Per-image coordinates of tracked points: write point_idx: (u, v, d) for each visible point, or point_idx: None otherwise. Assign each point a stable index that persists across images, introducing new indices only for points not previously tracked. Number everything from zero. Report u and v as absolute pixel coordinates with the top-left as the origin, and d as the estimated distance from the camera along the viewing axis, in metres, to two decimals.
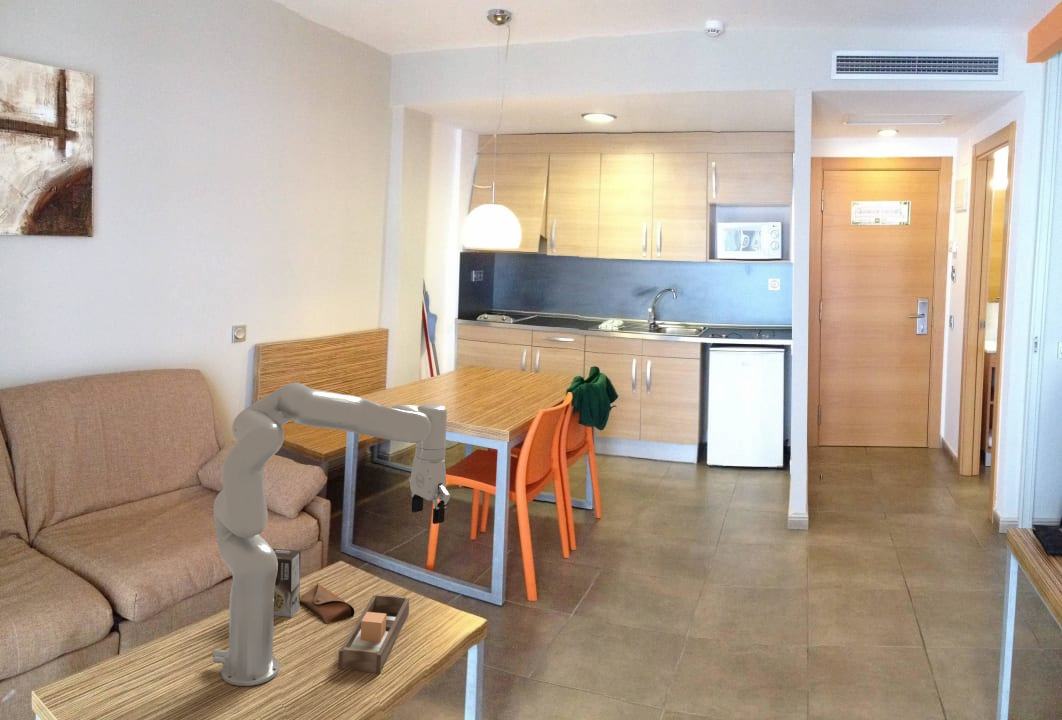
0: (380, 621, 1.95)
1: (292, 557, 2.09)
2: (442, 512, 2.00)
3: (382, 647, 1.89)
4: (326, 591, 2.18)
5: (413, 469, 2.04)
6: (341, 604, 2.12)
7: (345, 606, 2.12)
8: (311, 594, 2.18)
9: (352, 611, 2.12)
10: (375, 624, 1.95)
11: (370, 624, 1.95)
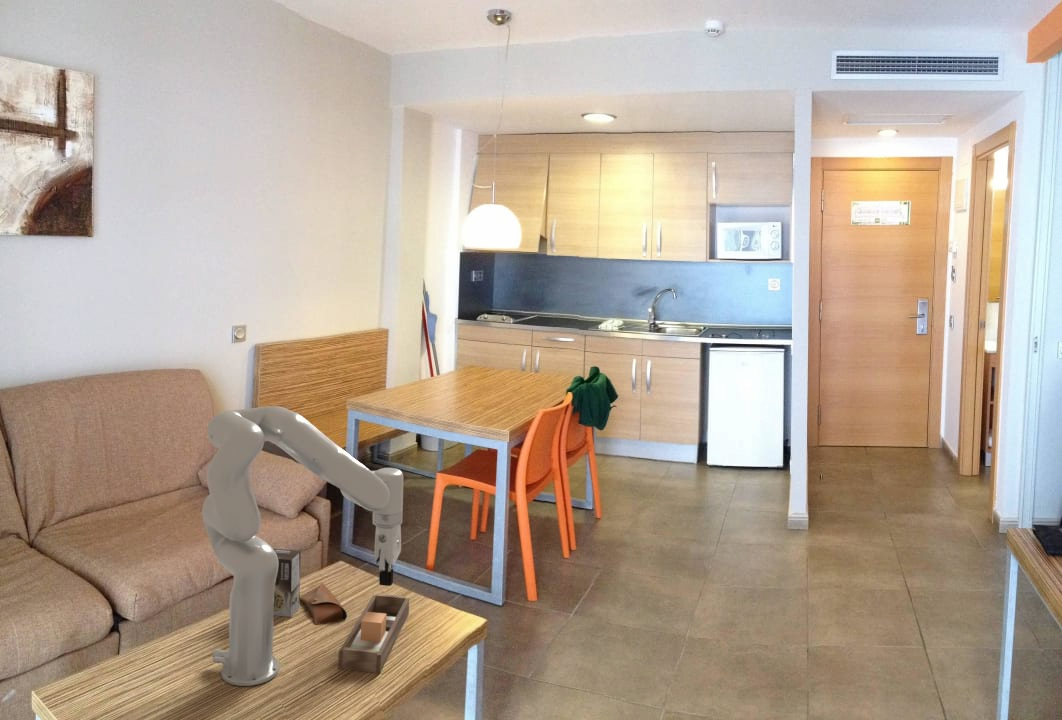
0: (380, 621, 1.95)
1: (292, 557, 2.09)
2: None
3: (382, 647, 1.89)
4: (325, 592, 2.18)
5: (394, 540, 2.00)
6: (334, 606, 2.11)
7: (337, 609, 2.10)
8: (312, 593, 2.19)
9: (344, 614, 2.10)
10: (375, 624, 1.95)
11: (370, 624, 1.95)
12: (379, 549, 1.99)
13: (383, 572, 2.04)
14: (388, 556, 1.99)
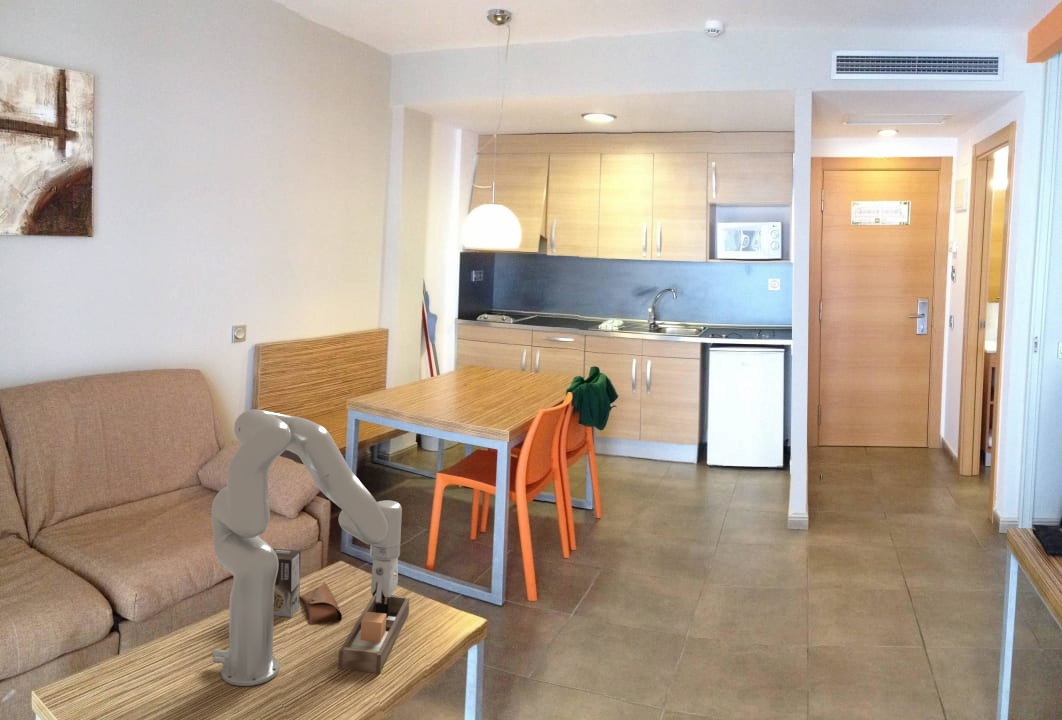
0: (380, 621, 1.95)
1: (292, 557, 2.09)
2: None
3: (382, 647, 1.89)
4: (325, 592, 2.17)
5: (391, 573, 2.01)
6: (330, 607, 2.10)
7: (332, 610, 2.09)
8: (313, 593, 2.19)
9: (339, 616, 2.09)
10: (375, 624, 1.95)
11: (370, 624, 1.95)
12: (376, 582, 2.00)
13: (379, 605, 2.04)
14: (385, 589, 2.00)
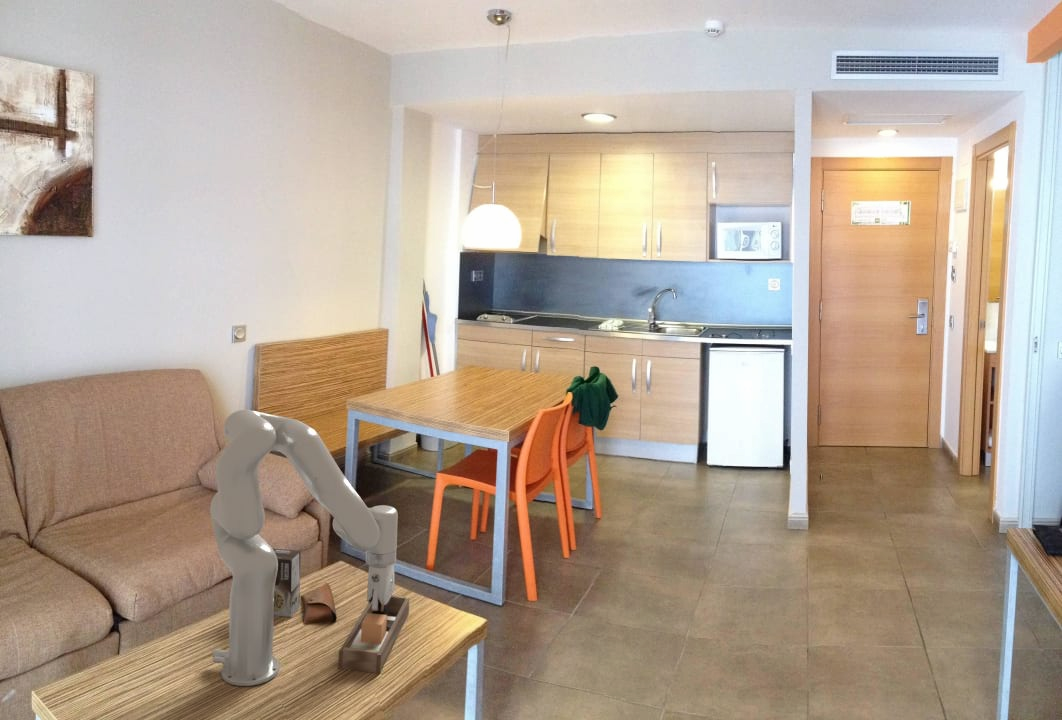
0: (380, 623, 1.94)
1: (292, 557, 2.09)
2: None
3: (382, 647, 1.89)
4: (324, 592, 2.17)
5: (387, 580, 1.96)
6: (326, 608, 2.10)
7: (327, 611, 2.09)
8: (313, 593, 2.20)
9: (334, 617, 2.08)
10: (376, 626, 1.94)
11: (371, 626, 1.94)
12: (372, 589, 1.96)
13: (376, 612, 2.00)
14: (381, 596, 1.95)
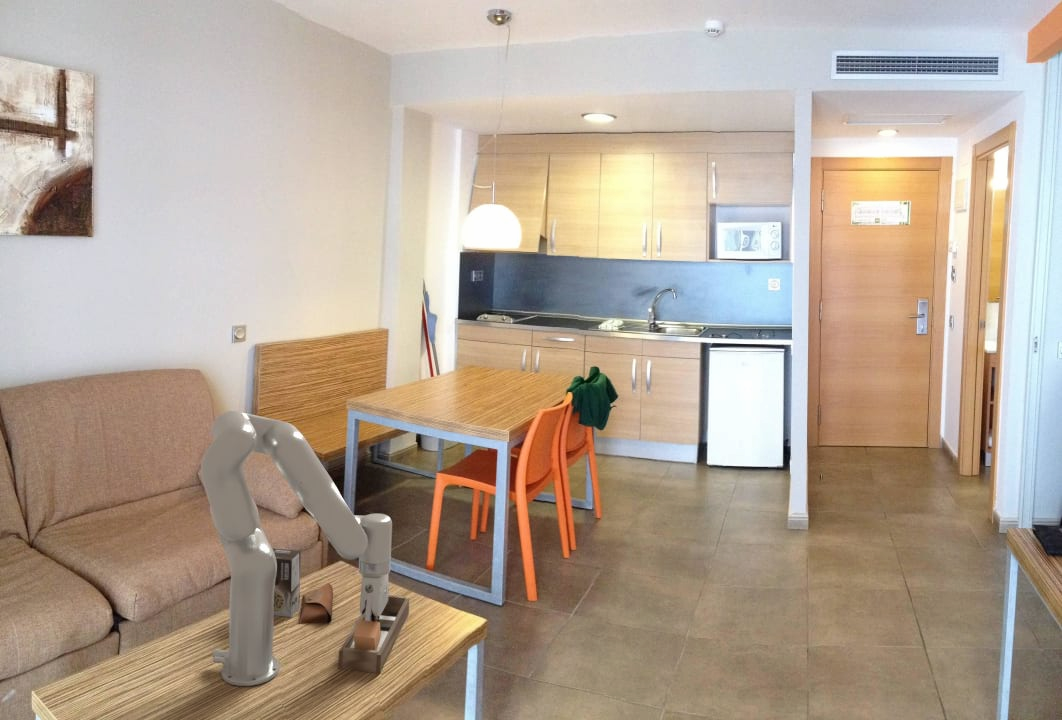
0: (373, 635, 1.88)
1: (292, 557, 2.09)
2: None
3: (382, 647, 1.89)
4: (324, 592, 2.17)
5: (381, 591, 1.90)
6: (322, 608, 2.09)
7: (323, 611, 2.08)
8: (314, 592, 2.20)
9: (329, 618, 2.08)
10: (368, 638, 1.88)
11: (363, 638, 1.88)
12: (365, 600, 1.90)
13: None
14: (375, 607, 1.89)
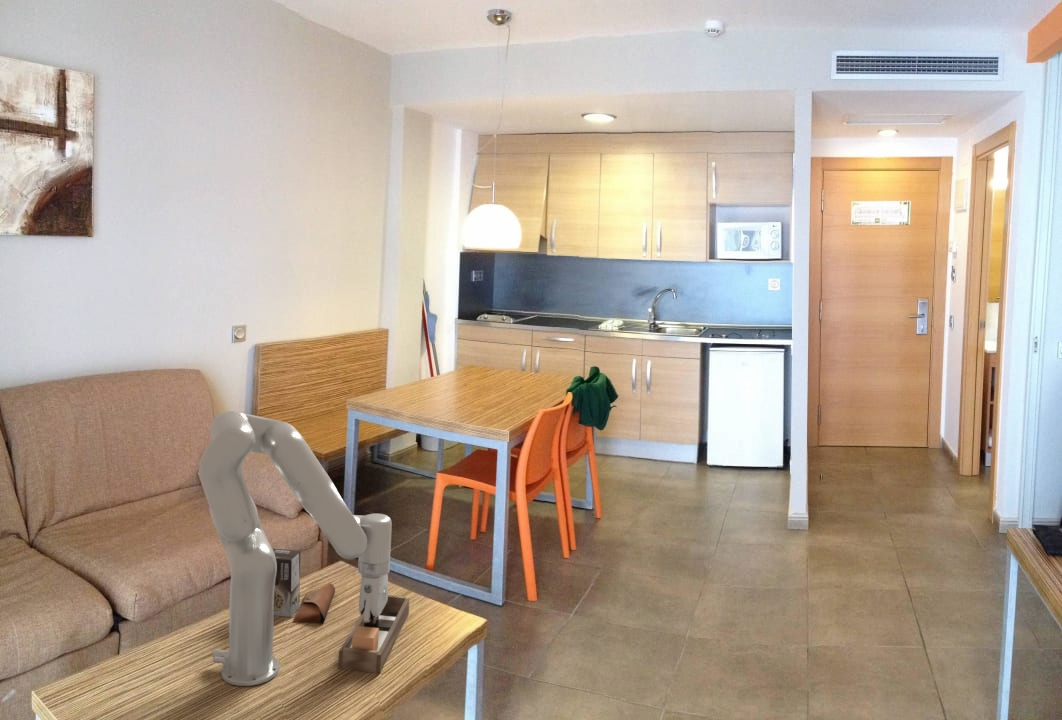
0: (372, 636, 1.88)
1: (292, 557, 2.09)
2: None
3: (382, 647, 1.89)
4: (323, 592, 2.17)
5: (380, 591, 1.90)
6: (316, 608, 2.09)
7: (316, 611, 2.08)
8: (315, 592, 2.20)
9: (322, 618, 2.07)
10: (367, 639, 1.87)
11: (362, 639, 1.87)
12: (364, 600, 1.89)
13: (368, 623, 1.93)
14: (373, 608, 1.89)
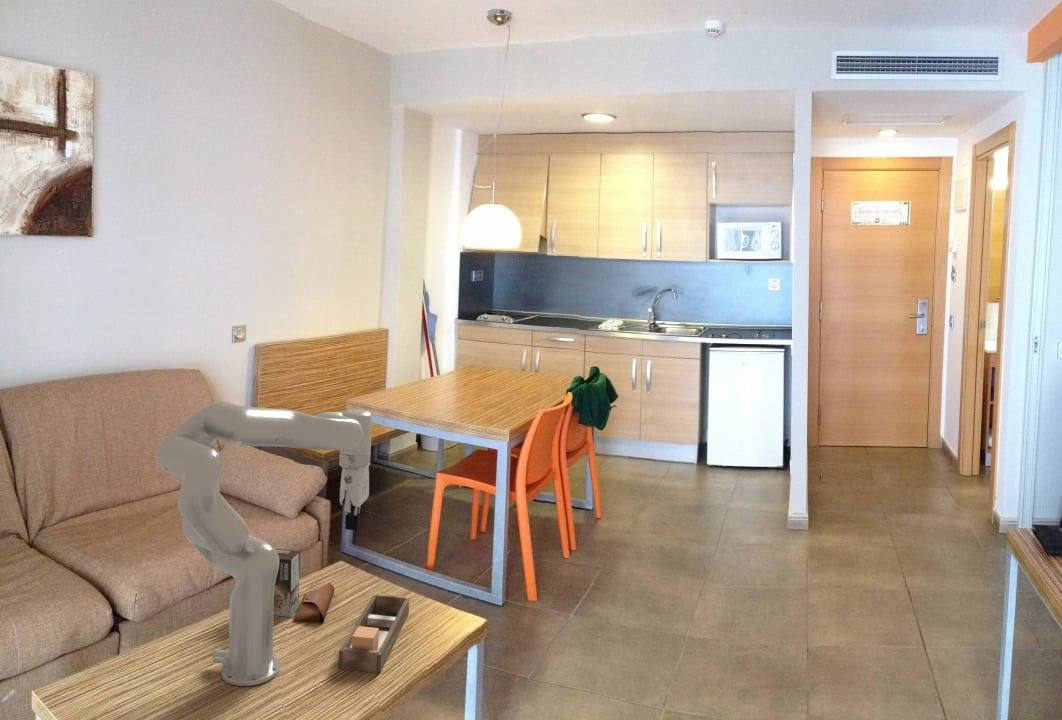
0: (372, 636, 1.88)
1: (292, 557, 2.09)
2: None
3: (382, 647, 1.89)
4: (322, 592, 2.17)
5: (360, 482, 1.97)
6: (316, 608, 2.09)
7: (316, 611, 2.08)
8: None
9: (321, 618, 2.07)
10: (367, 639, 1.87)
11: (362, 639, 1.87)
12: (345, 490, 1.96)
13: (349, 516, 2.00)
14: (353, 498, 1.96)
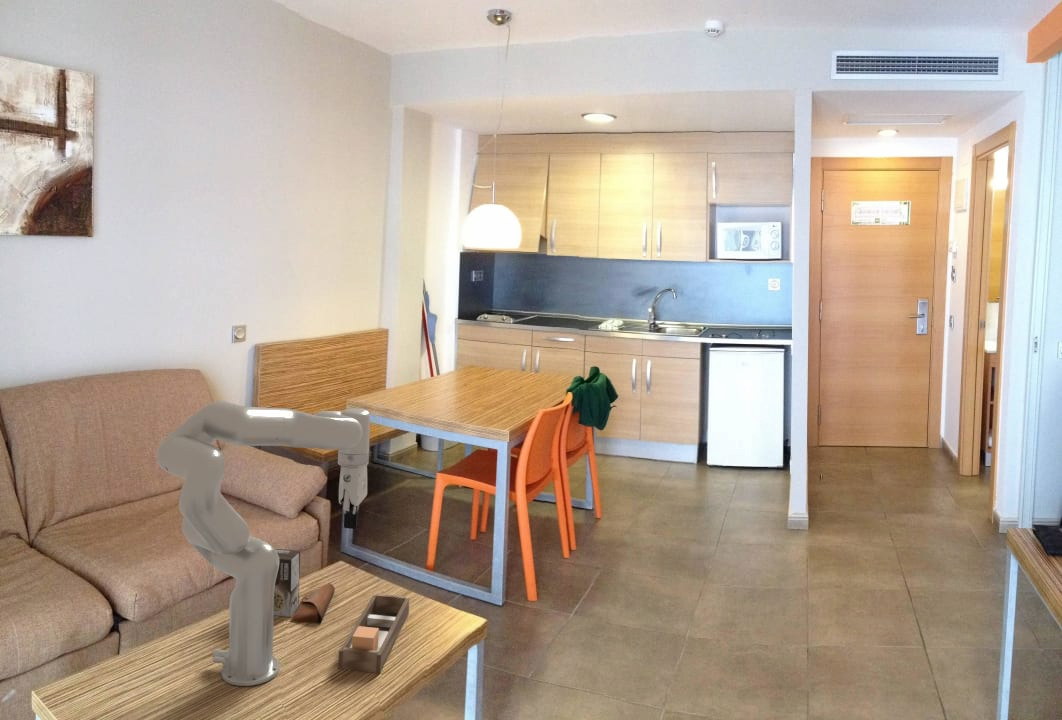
0: (372, 636, 1.88)
1: (292, 557, 2.09)
2: None
3: (382, 647, 1.89)
4: (322, 592, 2.17)
5: (359, 481, 1.97)
6: (314, 608, 2.09)
7: (314, 611, 2.08)
8: None
9: (319, 618, 2.07)
10: (367, 639, 1.87)
11: (362, 639, 1.87)
12: (343, 489, 1.96)
13: (348, 514, 2.00)
14: (352, 496, 1.96)
